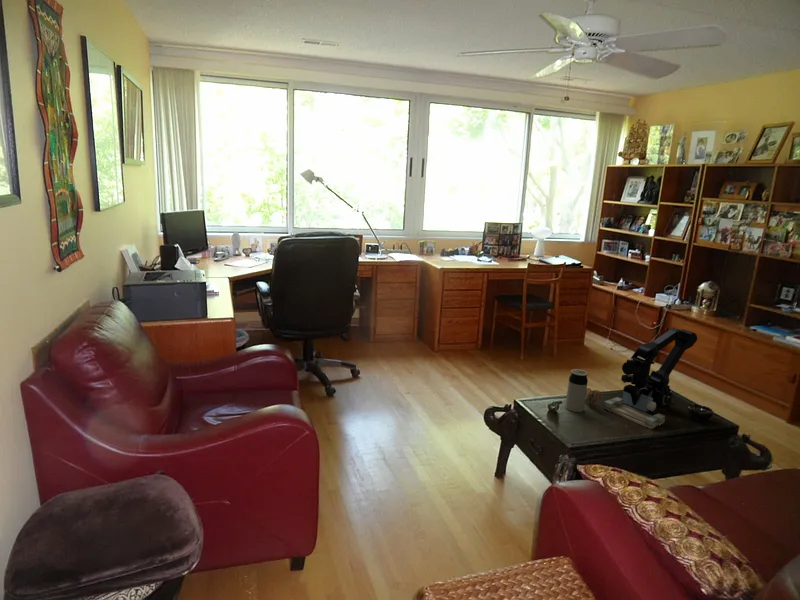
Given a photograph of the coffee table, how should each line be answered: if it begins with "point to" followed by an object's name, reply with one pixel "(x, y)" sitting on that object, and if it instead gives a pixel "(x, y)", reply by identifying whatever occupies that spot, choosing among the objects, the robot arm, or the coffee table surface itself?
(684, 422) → the coffee table surface
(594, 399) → the lion figurine
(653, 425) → the cradle
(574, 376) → the travel mug
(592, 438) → the coffee table surface
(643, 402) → the slate grey rectangular prism
